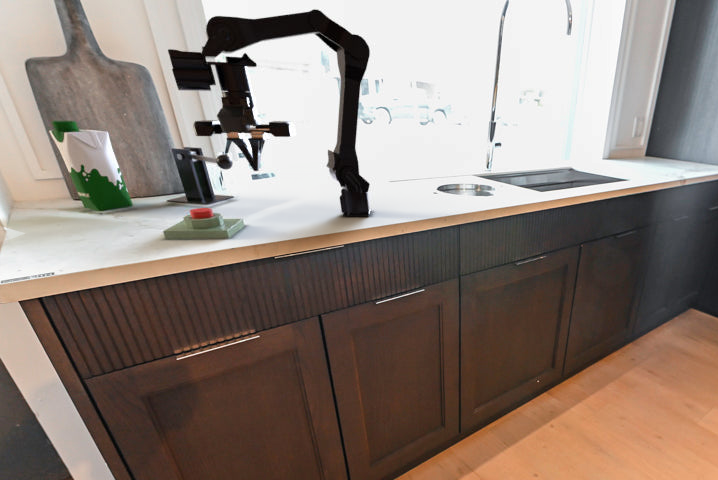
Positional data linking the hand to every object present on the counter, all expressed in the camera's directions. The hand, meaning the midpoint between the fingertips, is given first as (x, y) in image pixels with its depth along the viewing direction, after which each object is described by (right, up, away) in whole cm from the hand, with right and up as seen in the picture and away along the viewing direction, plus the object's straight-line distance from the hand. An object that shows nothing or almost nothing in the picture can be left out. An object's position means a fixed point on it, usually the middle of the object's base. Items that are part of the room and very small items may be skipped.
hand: (256, 170), depth 96 cm
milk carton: (-42, -6, +10) cm, 44 cm away
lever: (-22, +7, +15) cm, 27 cm away
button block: (-9, -15, -3) cm, 18 cm away
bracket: (-27, -1, +21) cm, 34 cm away
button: (-9, -12, -5) cm, 16 cm away
